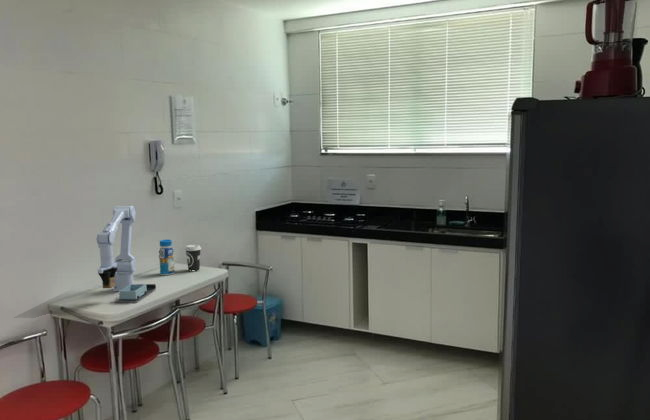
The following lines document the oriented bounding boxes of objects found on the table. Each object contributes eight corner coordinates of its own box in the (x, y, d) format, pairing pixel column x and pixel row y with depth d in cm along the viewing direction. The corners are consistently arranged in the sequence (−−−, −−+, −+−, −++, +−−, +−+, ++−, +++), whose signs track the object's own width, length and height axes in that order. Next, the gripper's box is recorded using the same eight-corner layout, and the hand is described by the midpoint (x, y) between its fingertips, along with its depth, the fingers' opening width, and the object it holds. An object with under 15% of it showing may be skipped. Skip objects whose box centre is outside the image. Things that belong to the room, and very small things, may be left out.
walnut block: (102, 288, 249) (102, 279, 248) (107, 285, 253) (106, 277, 252) (110, 288, 248) (110, 279, 248) (114, 286, 252) (114, 277, 252)
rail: (116, 302, 248) (116, 296, 248) (137, 289, 271) (137, 284, 270) (136, 303, 248) (136, 296, 247) (155, 289, 270) (155, 284, 269)
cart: (118, 299, 250) (117, 291, 249) (129, 292, 262) (129, 284, 261) (137, 299, 249) (136, 291, 248) (148, 292, 261) (147, 284, 260)
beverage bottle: (158, 273, 305) (156, 240, 302) (173, 271, 309) (171, 238, 306) (161, 276, 297) (159, 242, 295) (176, 274, 301) (174, 240, 299)
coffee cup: (198, 272, 305) (197, 247, 303) (183, 272, 307) (181, 247, 305) (204, 268, 315) (203, 244, 313) (190, 268, 316) (188, 244, 314)
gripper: (107, 260, 241) (109, 288, 243) (121, 253, 255) (123, 280, 257) (92, 260, 242) (94, 288, 243) (108, 253, 256) (110, 280, 258)
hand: (108, 284), depth 250 cm, fingers closed on walnut block, 4 cm apart
